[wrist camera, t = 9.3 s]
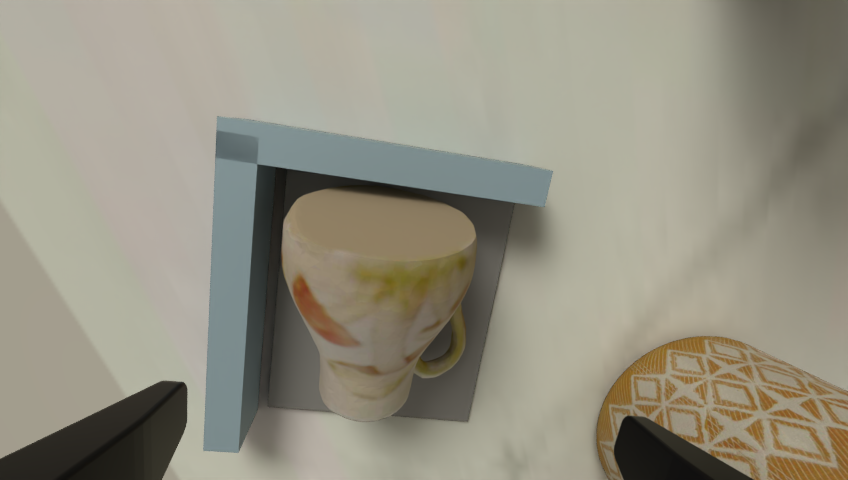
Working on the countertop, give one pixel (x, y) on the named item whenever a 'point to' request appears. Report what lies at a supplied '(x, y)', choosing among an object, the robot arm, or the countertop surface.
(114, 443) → the robot arm
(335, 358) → the mug
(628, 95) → the countertop surface
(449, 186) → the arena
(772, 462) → the planter
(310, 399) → the mat
